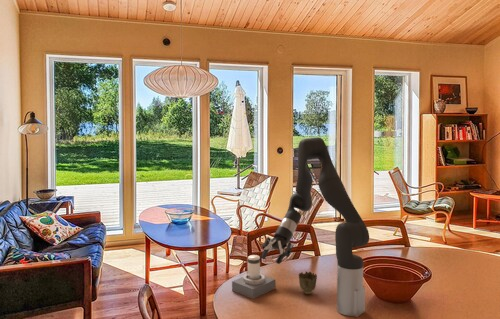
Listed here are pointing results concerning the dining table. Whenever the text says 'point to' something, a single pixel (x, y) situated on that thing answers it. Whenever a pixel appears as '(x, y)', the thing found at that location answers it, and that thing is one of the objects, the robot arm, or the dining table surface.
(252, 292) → the square base with ring
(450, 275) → the dining table surface
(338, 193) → the robot arm
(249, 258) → the domed cylinder with band
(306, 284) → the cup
